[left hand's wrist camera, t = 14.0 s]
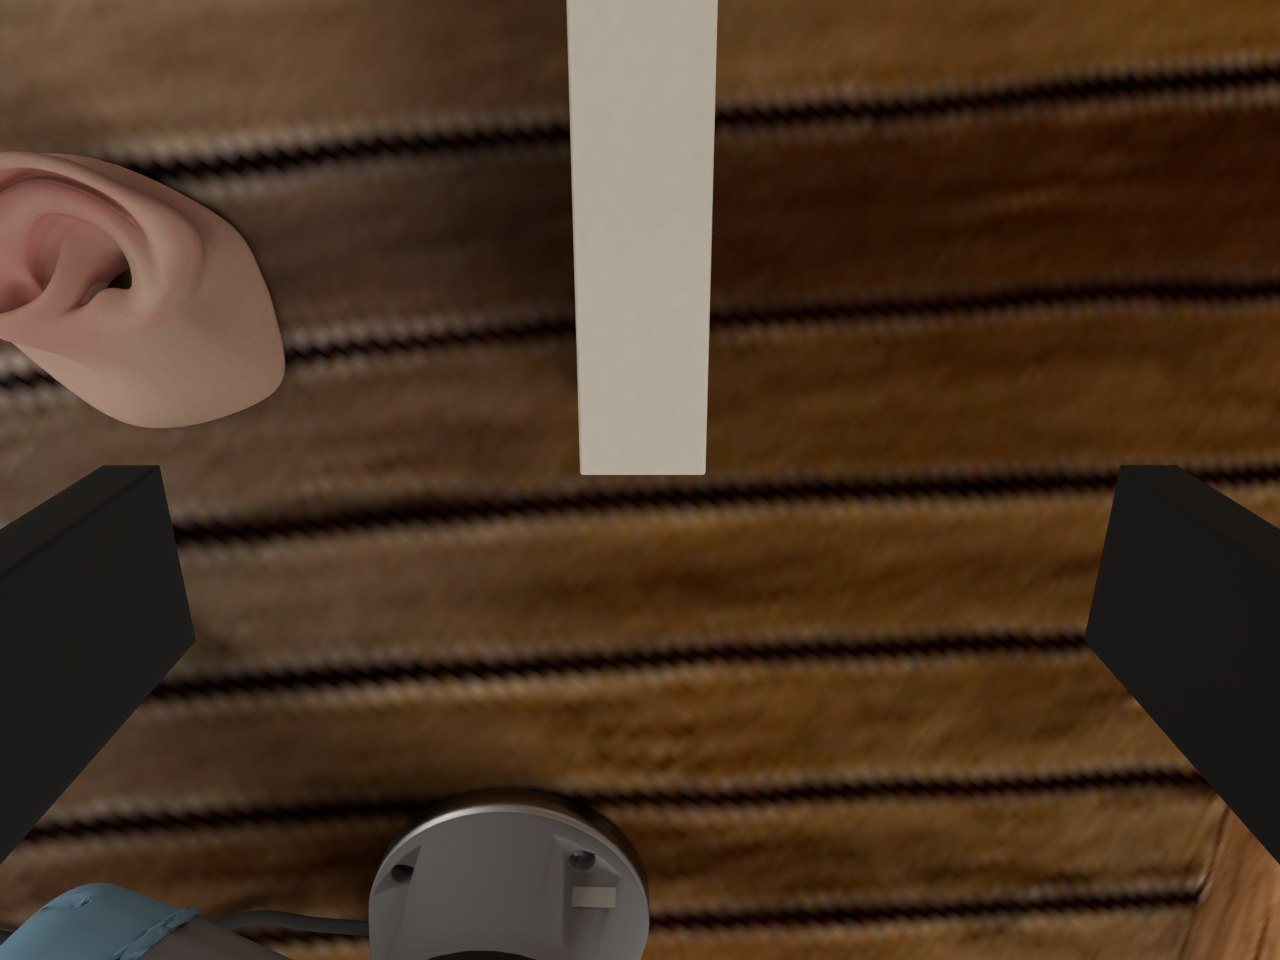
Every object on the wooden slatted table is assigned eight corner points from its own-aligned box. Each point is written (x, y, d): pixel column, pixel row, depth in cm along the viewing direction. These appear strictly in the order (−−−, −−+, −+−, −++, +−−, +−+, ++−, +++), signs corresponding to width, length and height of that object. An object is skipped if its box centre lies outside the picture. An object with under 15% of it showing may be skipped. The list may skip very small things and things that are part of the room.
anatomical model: (301, 374, 35) (92, 519, 37) (334, 350, 39) (142, 484, 41) (48, 62, 31) (-169, 247, 33) (111, 68, 35) (-88, 235, 37)
